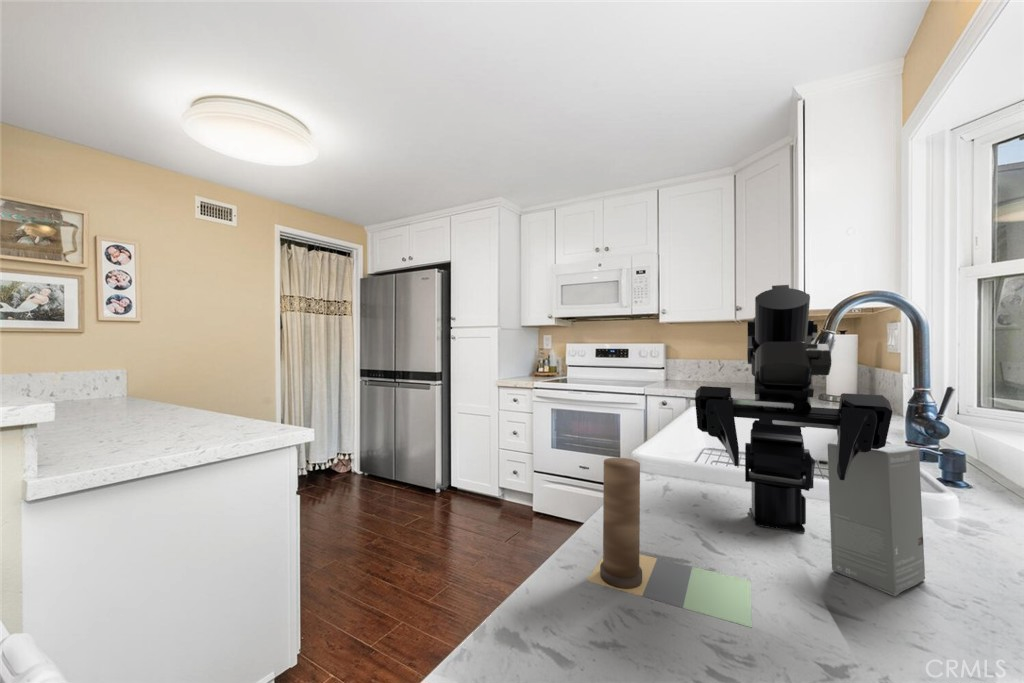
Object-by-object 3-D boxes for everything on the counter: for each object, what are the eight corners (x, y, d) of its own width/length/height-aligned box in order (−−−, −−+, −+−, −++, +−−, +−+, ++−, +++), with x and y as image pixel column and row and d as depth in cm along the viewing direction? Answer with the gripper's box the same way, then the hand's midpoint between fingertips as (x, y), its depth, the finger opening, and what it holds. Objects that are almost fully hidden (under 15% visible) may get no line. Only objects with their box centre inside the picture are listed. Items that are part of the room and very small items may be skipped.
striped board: (587, 591, 47) (587, 580, 47) (609, 556, 55) (609, 546, 55) (751, 640, 39) (751, 627, 39) (750, 591, 47) (750, 580, 47)
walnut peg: (596, 583, 46) (597, 465, 47) (603, 563, 51) (604, 455, 51) (640, 592, 45) (641, 470, 45) (643, 571, 49) (644, 459, 49)
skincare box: (895, 599, 46) (895, 454, 46) (822, 568, 52) (823, 441, 52) (929, 580, 50) (929, 446, 50) (857, 553, 56) (857, 435, 56)
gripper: (698, 325, 56) (684, 404, 44) (883, 322, 46) (924, 421, 35) (703, 390, 61) (691, 475, 50) (869, 399, 52) (901, 506, 40)
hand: (786, 470), depth 44 cm, fingers open, 9 cm apart
